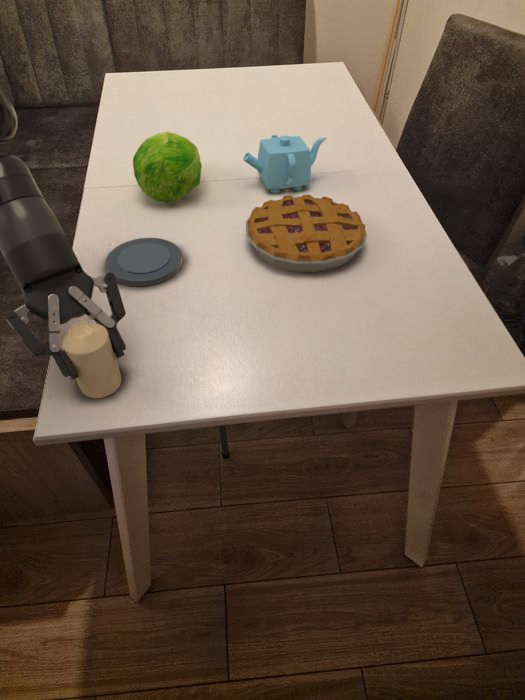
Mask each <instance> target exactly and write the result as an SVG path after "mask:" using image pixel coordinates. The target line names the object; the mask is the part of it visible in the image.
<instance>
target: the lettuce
mask: <svg viewBox="0 0 525 700" xmlns="http://www.w3.org/2000/svg"><path fill="white" fill-rule="evenodd" d="M132 167H133V173H134V175H133V176H134V177H135V180H136V183H137V186H138V187H139V188H140V189H141V191H142V192H143V193H144V194H145V195H146V196H147V197H150V198H151V199H153V200H155V201H156V202H160V203H161V202H162V203H167V204H168V203H172V202H178V201H179V200H181V199H183V198H184V197H185V196H187V195H188V194H189V193H190V192H191V191H192V190H194V189H195V188H196V187H197V186H199V185H200V183H201V176H202V175H201V174H202V168H203V165H202V161H201V156H200V153H199V150H198V147H197V146H196V144H194V142H192V141H191V140H189V139H188V138H187V137H184V136H182V135H180V134H177V133H175V132H169V131H165V132H161V133H156V134H154V135H152V136H149V137H147V138H145V140H144V141H142V143H141V144H140V145H139V147H138V149H137V150H136V152H135V153H134V155H133V158H132Z"/></svg>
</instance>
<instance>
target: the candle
mask: <svg viewBox="0 0 525 700" xmlns="http://www.w3.org/2000/svg"><path fill="white" fill-rule="evenodd" d="M61 347H62V349H63V350H65V352H66V354H67V356H68V358H69V359H70V361H71V363H72V365H73V367H74V369H75V371H76V373H77V375H78V378H76V379H75V380H76V382H77V385H78V387H79V389H80V392H81V393H82V394H83V395H84V396H86V397H87V398H91V399H102V398H105V397H109V396H110V395H112V394H113V393H115V392H116V391H117V390H118V389H119V388H120V386H121V384H122V375H121V371H120V367H119V364H118V361H117V357H116V355H115V353H114V351H113V348H112V344H111V341H110V338H109V335H108V331H107V329H106V328H105V327H104V326H102V325H100V324H97V323H96V322H91V321H81V320H80V321H77V322H75V323H74V324H73V325H71V326H70V328H69V329H68V330H66V332H65V333H64V334H63V336H62V338H61Z"/></svg>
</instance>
